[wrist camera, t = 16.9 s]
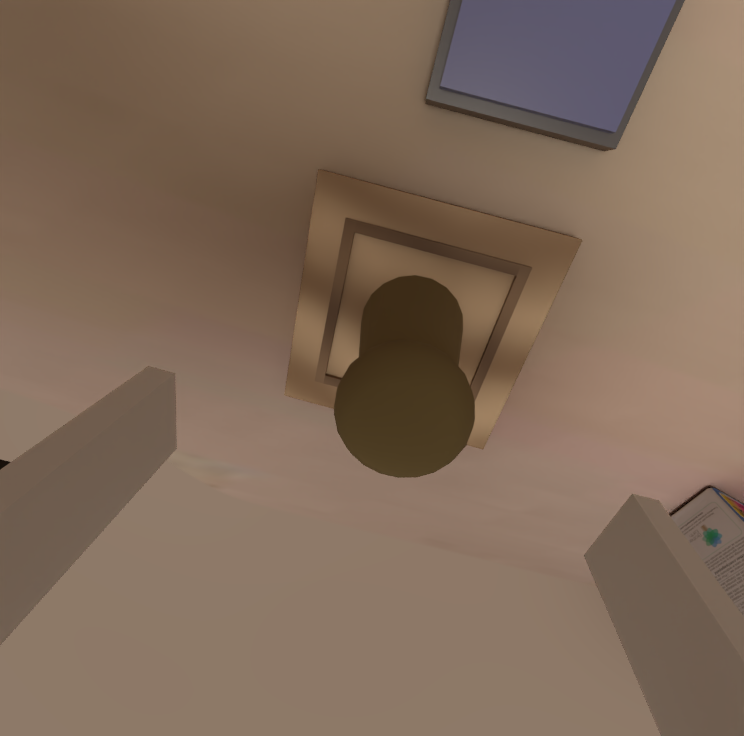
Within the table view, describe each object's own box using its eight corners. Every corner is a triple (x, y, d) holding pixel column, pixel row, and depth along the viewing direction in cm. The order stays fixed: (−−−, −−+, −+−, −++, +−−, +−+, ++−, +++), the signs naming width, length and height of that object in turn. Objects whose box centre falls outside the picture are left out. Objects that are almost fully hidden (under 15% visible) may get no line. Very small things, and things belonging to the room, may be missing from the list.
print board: (322, 169, 20) (316, 169, 19) (575, 237, 20) (584, 240, 19) (289, 388, 27) (282, 397, 25) (481, 440, 26) (483, 452, 25)
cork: (341, 310, 23) (277, 407, 13) (429, 253, 20) (434, 317, 11) (395, 387, 24) (376, 524, 15) (482, 342, 22) (526, 466, 12)
